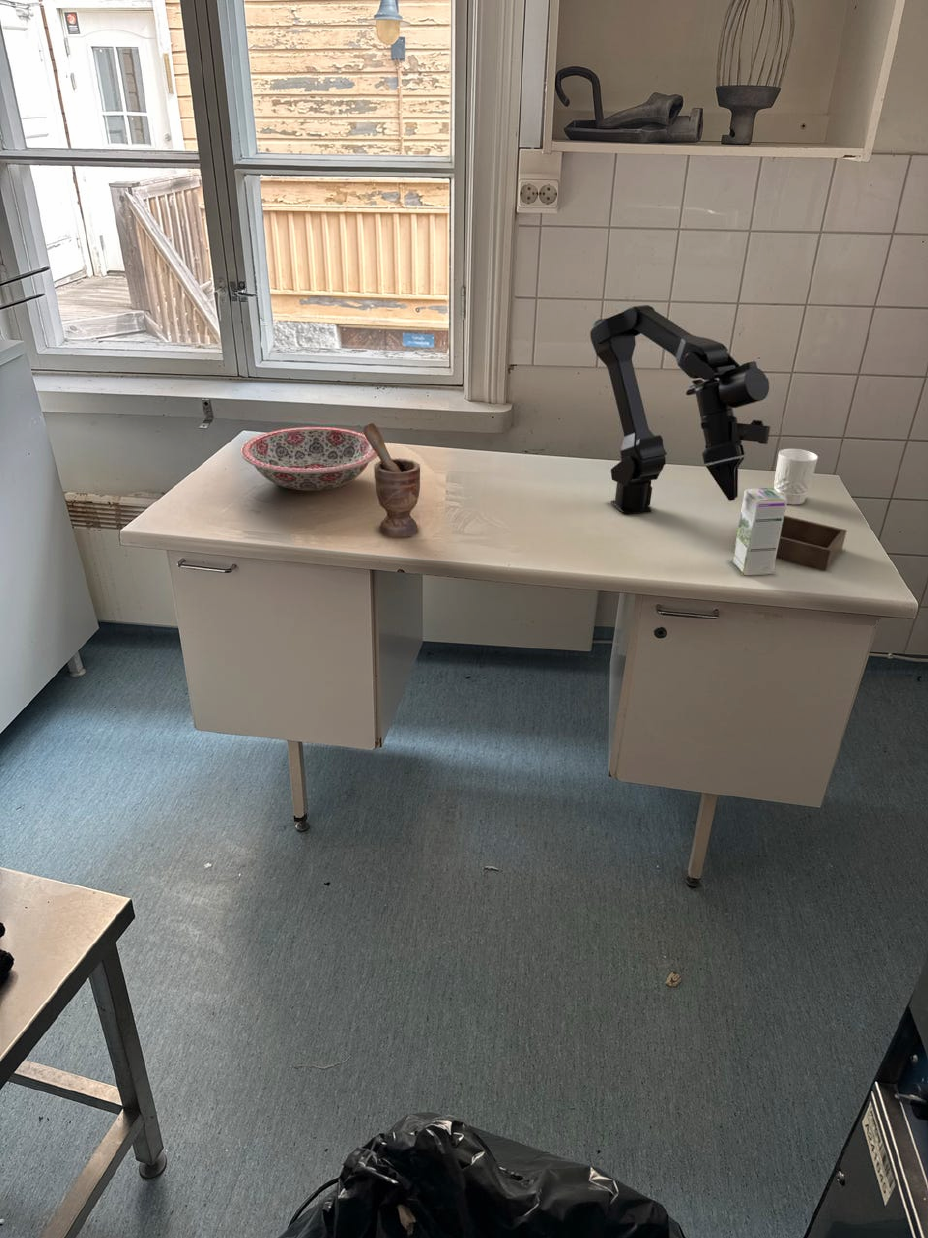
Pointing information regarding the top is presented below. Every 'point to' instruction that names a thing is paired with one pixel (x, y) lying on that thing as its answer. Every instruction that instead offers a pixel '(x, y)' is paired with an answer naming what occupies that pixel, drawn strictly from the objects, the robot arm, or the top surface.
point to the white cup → (794, 474)
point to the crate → (810, 534)
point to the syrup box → (759, 531)
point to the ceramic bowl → (309, 456)
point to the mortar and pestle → (394, 487)
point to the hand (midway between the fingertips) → (733, 498)
